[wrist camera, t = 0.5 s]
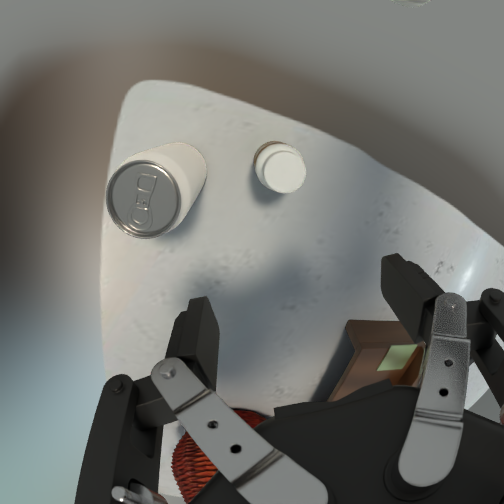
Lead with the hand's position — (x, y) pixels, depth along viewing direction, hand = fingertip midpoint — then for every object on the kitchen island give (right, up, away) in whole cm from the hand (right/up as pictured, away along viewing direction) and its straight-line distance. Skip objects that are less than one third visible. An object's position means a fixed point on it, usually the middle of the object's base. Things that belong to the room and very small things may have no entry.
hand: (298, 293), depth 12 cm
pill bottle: (0, +11, +17) cm, 20 cm away
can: (-10, +11, +17) cm, 22 cm away
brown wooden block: (+16, -21, +33) cm, 42 cm away
